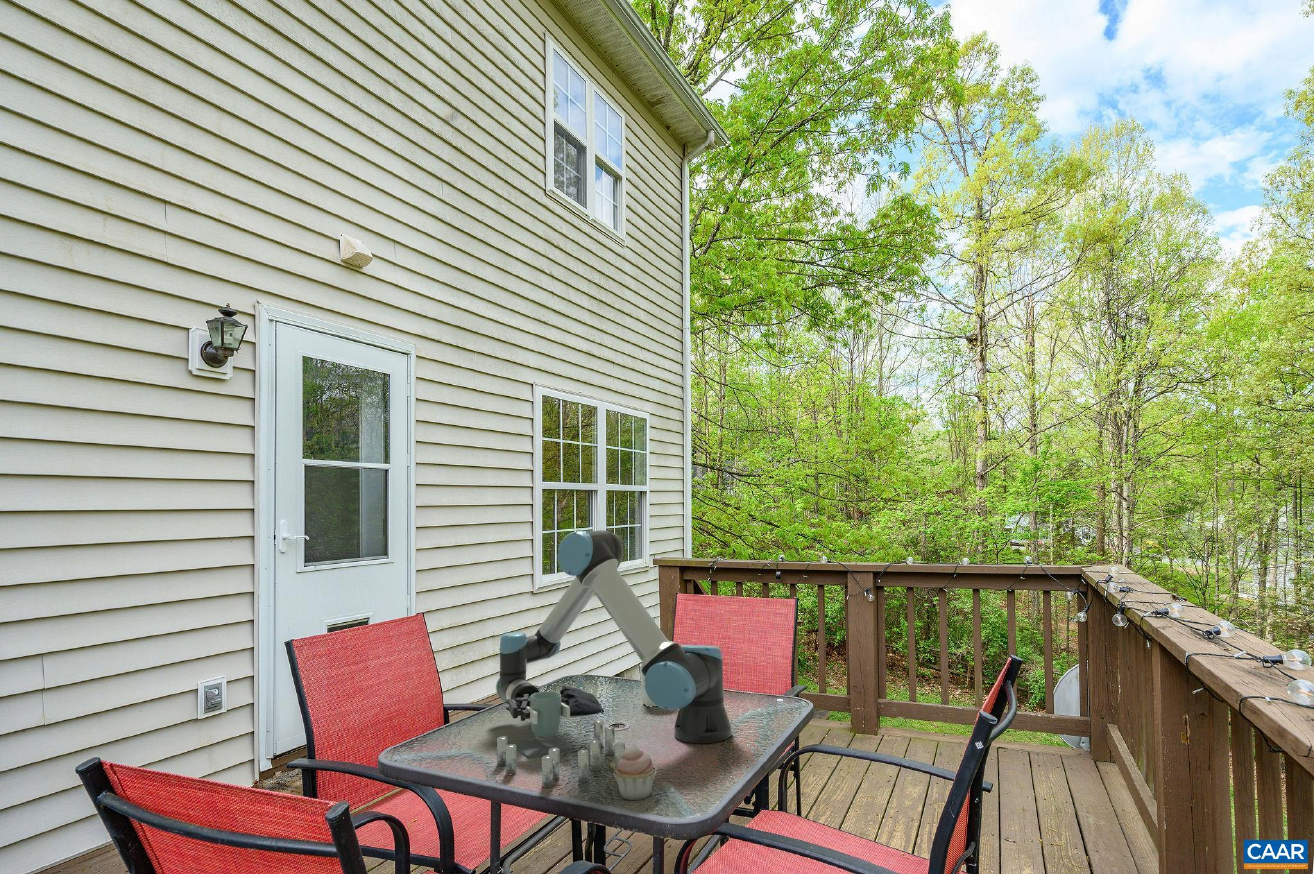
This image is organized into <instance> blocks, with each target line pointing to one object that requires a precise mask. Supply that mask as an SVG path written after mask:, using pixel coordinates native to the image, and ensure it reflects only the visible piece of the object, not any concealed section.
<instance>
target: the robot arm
mask: <svg viewBox="0 0 1314 874" xmlns="http://www.w3.org/2000/svg"><path fill="white" fill-rule="evenodd" d="M557 550H558V551H557V552H558V553H557V562H558V565H559V568H560V569H561V571H562V572H563V573H565V575H566V574H567V575H569V576H571V577H575V578H573V580H572V582H571V583H570V585H569V586H568V588H566V590H565V592H564V593H563V595H562V596H560V597H561V598H559V600H558V601H557V603H556V604H555V606H554V607H553V608H552V610H551V611H550V613H549V614H548V615H547V617H546V618H545V620H544V621H543V622H542V624H541V625H540V627H539V628H538V630H536V632H535V633H534V634H533V635H530V636H527V634H526V633H524V632H517V631H516V632H507V633H503V634H502V635H501V636H500V642H499V678H498V679H497V681H496V684H495V691H496V694H497V696H498V697H499V698H500V699H501V701H502V702H505V711H508V712H509V714H510V715H511V717H512V719H517V718H518V717H520V721H521V722H524V721H526V720H528V721H529V722H530V721H531V722H532V723H533V724H537V712H536V711H535V710H533V709H532V708H530V696H531V695H532V694H534V693H538V692H540V690H539V688H537V687H536V686H535V685H533V684H532V683H531V682H528V681H527V664H531V663H534V662H537V661H540V660H542V661H543V660H546V659H549V658H551V657H554V656H556V655H557V654H558V653H559V651H560V650H561V649H560V648H561V643H562V642H561V641H562V639H563V637H564V636H565V635H566V633H567V632H568V631H569V629H570V628H571V626H572V625H574V623H575V621H576V620H577V619H578V617H579V616H580V614H581V613H582V612H583V611H584V609H585V608H586V606H587V605H588V604H589V603H590V601H591V600H592V598H593V597H594V595H595V596H596V597H597V599H598V600H599V602H600V604H601V605H602V606H603V608H604V609H605V610H606V612H607V614H608V615H609V616H610V618H611V620H613V623H615V625H616V626H617V628H618V629H619V631H620V632H621V633H622V635H623V636H624V637H625V639H626V642H628V643H629V645H630V647H631V648H632V650H634V652H635V653H636V655H637V657H638V658H639V659H640V661H641V663H642V666H641V672H642V673H643V675H644V676H645V690H646V693H647V695H648V697H649V698H650V700H651V701H652V702H653V703H654V704H655V705H657V706H658V707H657V708H660V709H663V710H667V711H674V710H678V711H677V715H676V719H675V723H674V728H673V730H674V732H673V733H674V737H675V738H676V739H677V740H679V741H682V742H686V743H691V744H712V743H713V744H715V743H720V742H724V741H726V740H728V739H730V738H731V737H732V724H731V721H730V719H729V716H728V712H727V711H726V707H725V703H724V702H725V701H724V675H723V674H724V673H723V672H724V671H723V670H724V669H723V662H724V660H723V653H722V649H721V648H720V647H718V646H714V645H704V644H703V645H701V644H700V645H697V644H684V645H683V644H681V645H679V643H678V642H677V641H671V640H669V639H668V638H667V637H666V635H665V634H664V632H663V631H662V629H661V628H660V626H659V625H658V624H657V623H656V621H655V619H653V617H652V616H651V614H650V613H649V612H648V611H647V609H646V607H645V606H644V604H643V603H642V602H641V601H640V599H639V597H637V595H636V594H635V593H634V591H633V589H632V588H631V587H630V585H629V584H628V582H627V581H626V580H625V579H624V577H623V575H622V574H621V573H620V571H619V570H618V568H619V567H620V565H621V563H622V561H623V557H624V546H623V544H622V542H621V540H620V539H619V537H618V536H617V535H616V534H614V533H613V532H611V531H608V530H578V531H573V532H570V533H568V534H566V535H565V536H564V537H563V538H562V540H561V541H560V543H559V546H558V549H557ZM561 717H564V718H565V719H566V720H567V719H570V718H571V714H570V707H569V699H566V698H564V697H561ZM531 722H530V723H531ZM730 736H731V737H730ZM729 737H730V738H729ZM727 738H728V739H727ZM723 740H724V741H723ZM714 742H715V743H714Z"/></svg>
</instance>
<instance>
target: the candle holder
mask: <svg viewBox="0 0 1314 874" xmlns="http://www.w3.org/2000/svg"><path fill="white" fill-rule="evenodd" d="M641 666H642V662H641V663H639V673H640V685H641V697H642V705H643V704H645V705H648V706H657V705H655V704H654V703H653V702H652V701H651V700H650V698H649V697H648V695H647V693H646V690H645V676H644V675H643V673H642V672H641Z"/></svg>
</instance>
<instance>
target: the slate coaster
mask: <svg viewBox="0 0 1314 874" xmlns="http://www.w3.org/2000/svg"><path fill="white" fill-rule="evenodd" d="M512 744H515V745H516V750H518V751H519V752H520V753H521V752H522V753H521V754H522V755H524V757H526V759H530V758H535V757H541V756H545V755H549V749H551V748H559V753H561V752H562V753H563V752H567V751H572V749H573V750H574V746H572V745H571V744H570V743H569V742H567V741H566V740H565V739H563V738H562V737H561V736H559V735H558V734H556V735H555V736H553V737H551V738H538V737H537V738H534V739H528V740H522V741H515V742H512Z"/></svg>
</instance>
